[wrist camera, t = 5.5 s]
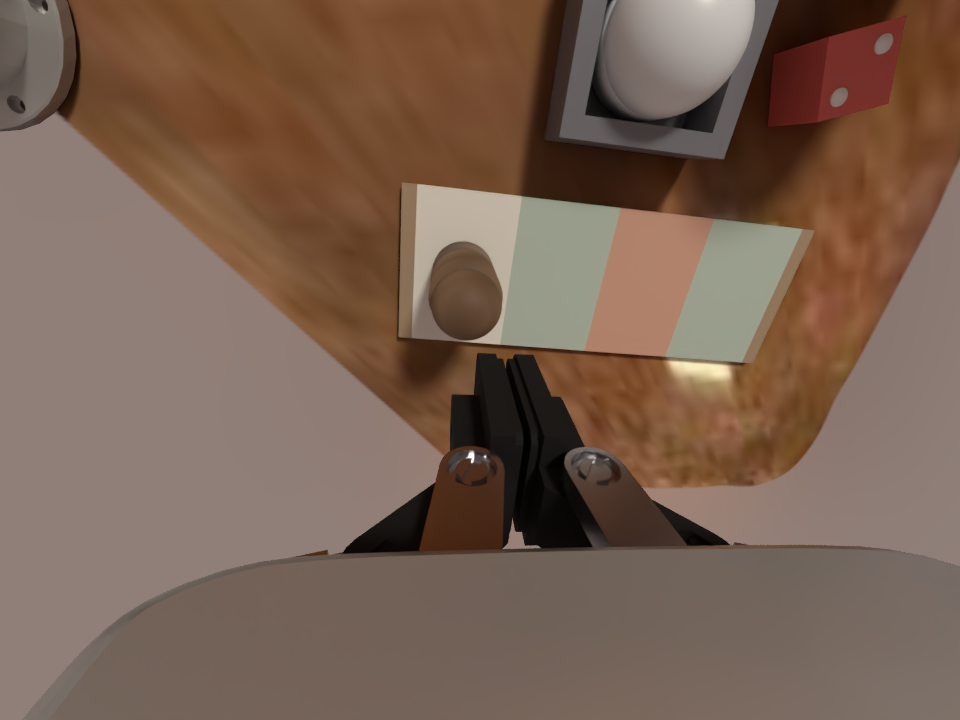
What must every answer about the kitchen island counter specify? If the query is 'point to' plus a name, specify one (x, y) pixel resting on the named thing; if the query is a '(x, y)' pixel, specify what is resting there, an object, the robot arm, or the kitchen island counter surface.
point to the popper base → (679, 136)
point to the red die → (835, 75)
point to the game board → (603, 274)
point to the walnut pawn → (465, 291)
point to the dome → (667, 54)
